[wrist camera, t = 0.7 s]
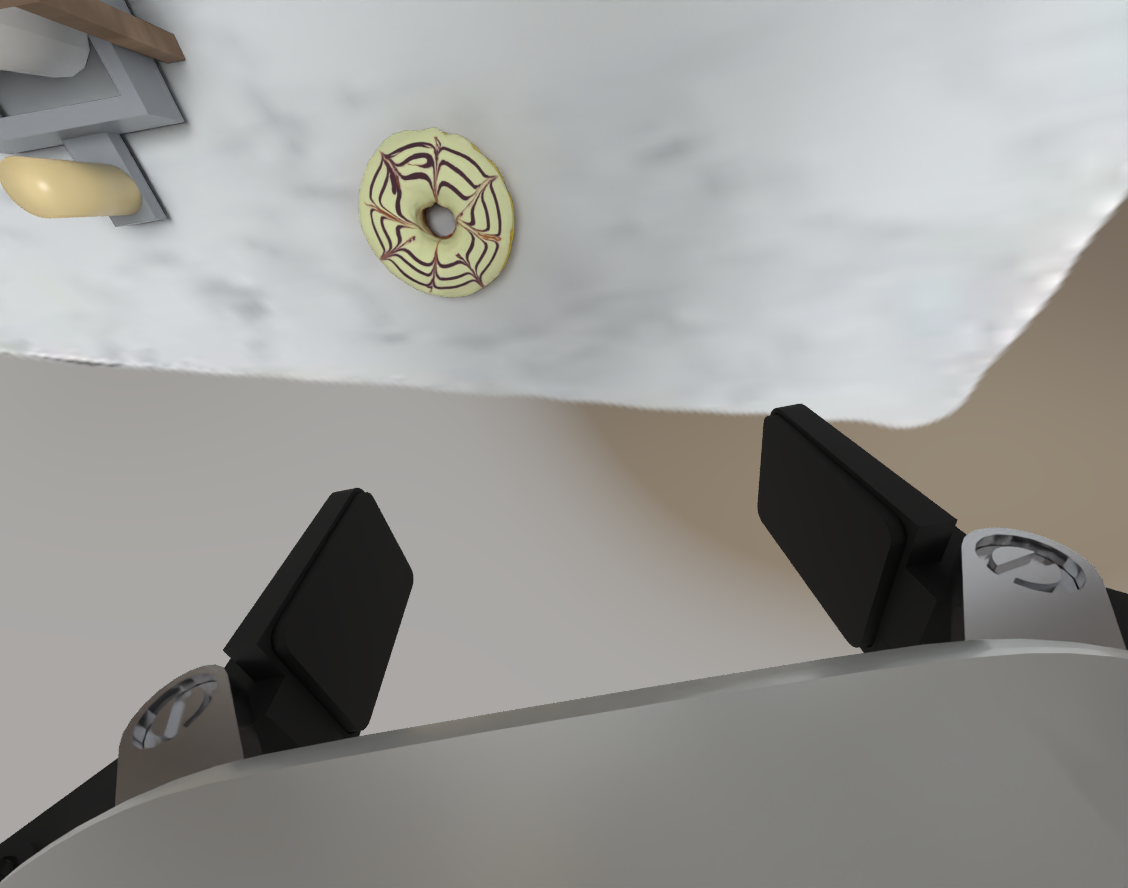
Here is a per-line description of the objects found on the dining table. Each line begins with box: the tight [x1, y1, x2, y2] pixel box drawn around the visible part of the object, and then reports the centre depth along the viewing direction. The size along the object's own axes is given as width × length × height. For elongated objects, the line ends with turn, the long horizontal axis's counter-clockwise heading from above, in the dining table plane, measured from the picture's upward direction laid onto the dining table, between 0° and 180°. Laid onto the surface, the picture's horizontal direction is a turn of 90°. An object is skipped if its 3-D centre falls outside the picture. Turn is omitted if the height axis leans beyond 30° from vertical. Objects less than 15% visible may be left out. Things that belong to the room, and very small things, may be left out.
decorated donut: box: [359, 127, 514, 297], centre depth 30 cm, size 10×11×4 cm
